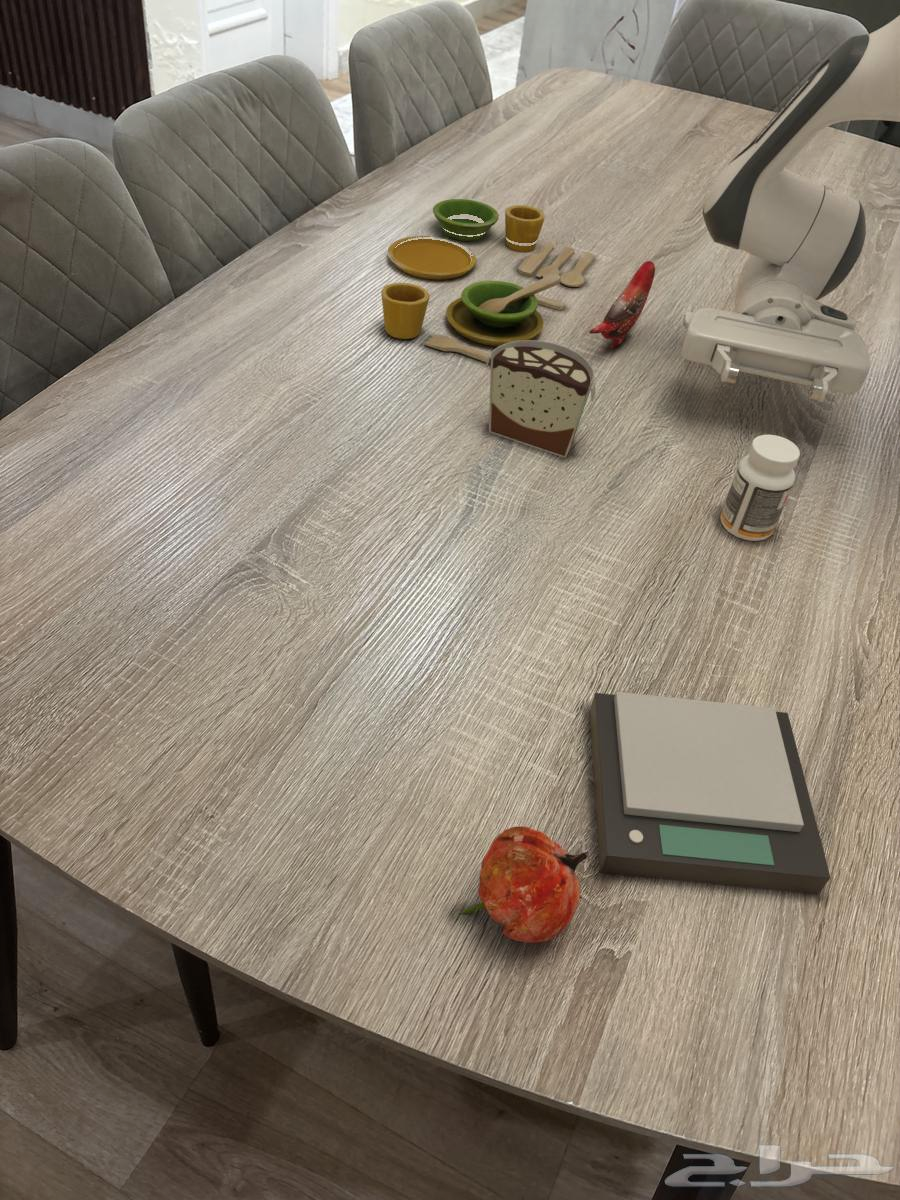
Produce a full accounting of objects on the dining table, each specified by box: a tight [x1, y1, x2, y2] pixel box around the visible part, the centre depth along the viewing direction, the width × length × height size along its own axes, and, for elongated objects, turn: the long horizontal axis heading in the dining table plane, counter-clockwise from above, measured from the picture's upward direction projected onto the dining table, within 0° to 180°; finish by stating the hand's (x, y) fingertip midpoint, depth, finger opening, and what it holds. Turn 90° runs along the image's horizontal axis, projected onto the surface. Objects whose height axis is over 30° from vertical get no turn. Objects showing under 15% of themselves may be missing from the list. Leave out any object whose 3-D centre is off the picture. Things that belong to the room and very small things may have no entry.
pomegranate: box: [459, 826, 591, 944], centre depth 63 cm, size 7×7×10 cm
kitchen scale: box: [588, 691, 831, 895], centre depth 72 cm, size 16×15×4 cm
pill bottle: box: [720, 434, 801, 542], centre depth 95 cm, size 6×6×10 cm
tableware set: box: [380, 198, 595, 363], centre depth 130 cm, size 41×28×6 cm
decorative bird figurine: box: [588, 260, 656, 351], centre depth 119 cm, size 3×18×10 cm, turn 147°
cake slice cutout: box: [484, 339, 596, 459], centre depth 104 cm, size 12×6×10 cm, turn 65°
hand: (774, 386), depth 100 cm, fingers open, 8 cm apart
